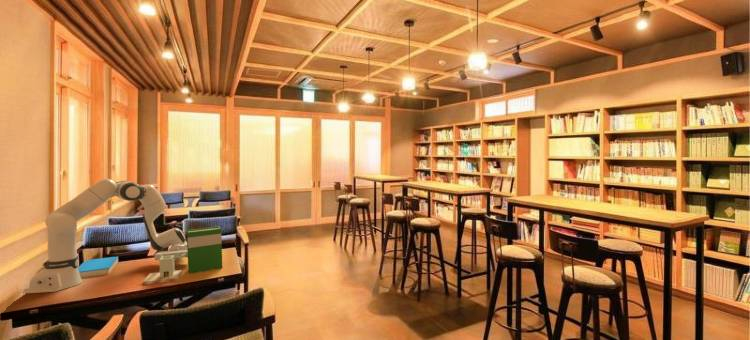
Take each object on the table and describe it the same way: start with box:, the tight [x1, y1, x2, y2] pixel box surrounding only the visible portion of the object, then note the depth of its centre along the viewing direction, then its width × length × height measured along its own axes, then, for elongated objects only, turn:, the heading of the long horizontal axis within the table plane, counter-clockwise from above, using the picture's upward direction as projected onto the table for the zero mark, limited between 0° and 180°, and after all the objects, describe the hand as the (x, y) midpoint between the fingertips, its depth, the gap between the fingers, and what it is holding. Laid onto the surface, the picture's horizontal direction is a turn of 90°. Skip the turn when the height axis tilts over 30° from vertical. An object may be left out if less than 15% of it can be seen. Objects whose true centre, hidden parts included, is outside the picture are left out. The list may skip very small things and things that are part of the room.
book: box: [78, 256, 119, 279], centre depth 202 cm, size 17×4×25 cm
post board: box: [142, 269, 183, 286], centre depth 187 cm, size 16×14×8 cm
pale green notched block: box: [158, 255, 176, 278], centre depth 187 cm, size 6×6×10 cm
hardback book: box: [186, 226, 223, 275], centre depth 201 cm, size 18×7×24 cm, turn 122°
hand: (171, 258), depth 199 cm, fingers open, 8 cm apart
